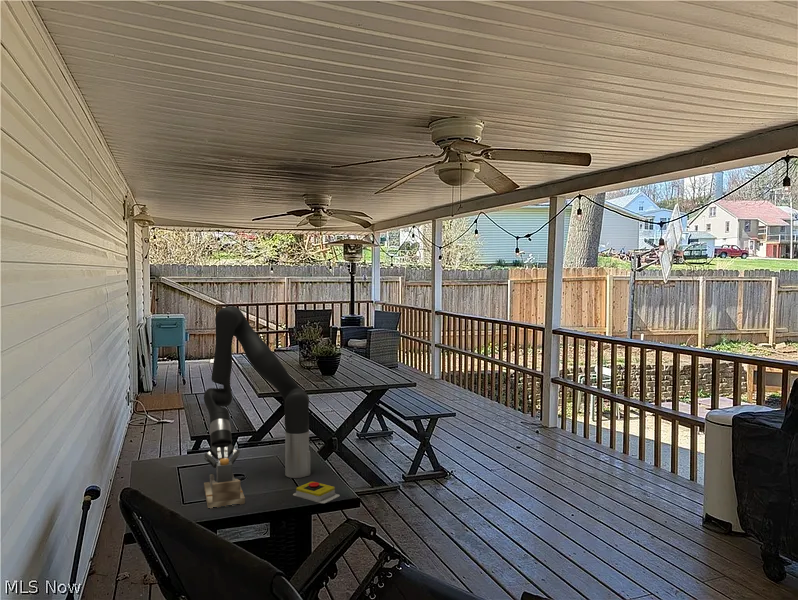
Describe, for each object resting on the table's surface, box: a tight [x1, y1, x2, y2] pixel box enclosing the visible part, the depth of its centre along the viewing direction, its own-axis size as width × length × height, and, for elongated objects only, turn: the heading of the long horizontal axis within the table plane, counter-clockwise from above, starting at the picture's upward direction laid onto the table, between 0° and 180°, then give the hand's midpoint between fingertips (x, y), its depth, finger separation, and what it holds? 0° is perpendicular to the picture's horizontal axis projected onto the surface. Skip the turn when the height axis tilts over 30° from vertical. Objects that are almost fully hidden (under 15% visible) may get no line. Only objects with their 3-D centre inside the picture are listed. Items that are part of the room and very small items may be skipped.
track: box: [203, 471, 246, 509], centre depth 202 cm, size 12×21×8 cm, turn 22°
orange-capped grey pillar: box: [216, 457, 233, 483], centre depth 199 cm, size 5×4×12 cm
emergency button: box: [292, 481, 340, 504], centre depth 203 cm, size 9×4×15 cm
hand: (223, 476), depth 202 cm, fingers closed
